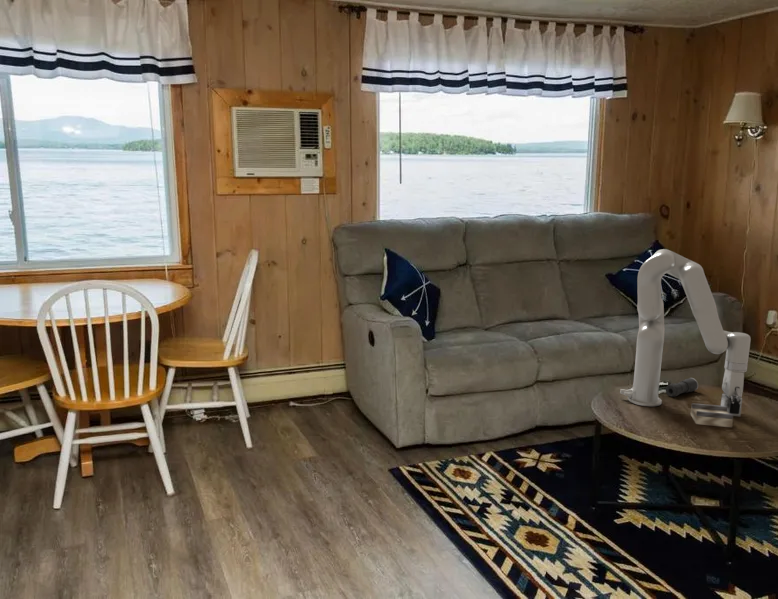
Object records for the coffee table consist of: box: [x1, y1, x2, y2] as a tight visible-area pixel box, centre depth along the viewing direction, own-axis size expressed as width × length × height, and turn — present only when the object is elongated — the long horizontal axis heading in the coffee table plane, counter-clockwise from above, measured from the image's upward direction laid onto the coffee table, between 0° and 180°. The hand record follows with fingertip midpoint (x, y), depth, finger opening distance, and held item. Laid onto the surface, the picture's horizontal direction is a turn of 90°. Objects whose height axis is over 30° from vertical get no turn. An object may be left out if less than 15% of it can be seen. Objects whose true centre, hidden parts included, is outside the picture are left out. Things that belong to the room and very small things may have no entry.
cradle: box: [690, 402, 734, 428], centre depth 248 cm, size 12×10×4 cm
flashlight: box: [665, 377, 699, 398], centre depth 278 cm, size 15×5×5 cm, turn 124°
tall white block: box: [720, 393, 743, 417], centre depth 256 cm, size 6×4×7 cm
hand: (730, 408), depth 256 cm, fingers open, 9 cm apart
